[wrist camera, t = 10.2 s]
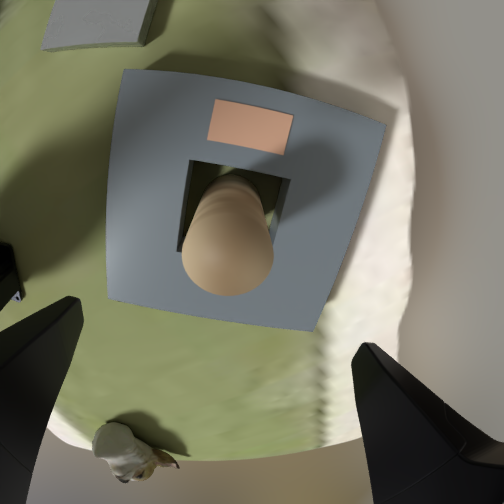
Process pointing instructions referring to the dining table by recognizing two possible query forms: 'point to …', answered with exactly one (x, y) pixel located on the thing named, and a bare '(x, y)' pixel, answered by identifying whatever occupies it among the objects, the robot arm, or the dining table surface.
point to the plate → (98, 24)
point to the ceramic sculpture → (128, 453)
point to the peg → (228, 239)
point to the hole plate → (240, 156)
